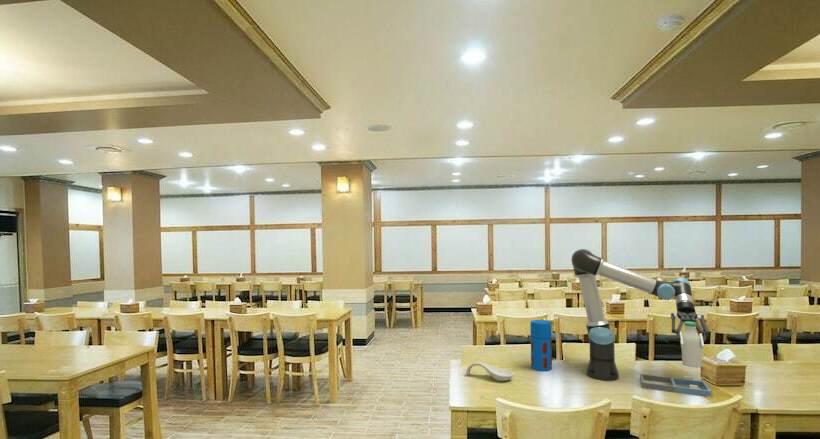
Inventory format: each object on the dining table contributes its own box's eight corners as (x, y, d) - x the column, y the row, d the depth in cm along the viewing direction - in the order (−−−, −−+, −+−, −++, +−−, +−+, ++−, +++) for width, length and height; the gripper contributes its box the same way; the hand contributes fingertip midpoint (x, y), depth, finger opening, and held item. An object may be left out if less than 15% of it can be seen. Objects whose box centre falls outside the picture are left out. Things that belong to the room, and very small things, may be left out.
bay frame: (642, 388, 197) (641, 379, 197) (639, 378, 210) (639, 370, 210) (711, 397, 186) (711, 387, 186) (704, 386, 198) (704, 378, 199)
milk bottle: (705, 368, 191) (703, 324, 191) (686, 367, 192) (684, 323, 193) (697, 363, 198) (695, 320, 199) (679, 362, 200) (677, 320, 201)
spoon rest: (515, 377, 213) (514, 363, 214) (511, 385, 202) (511, 370, 203) (469, 371, 222) (469, 358, 222) (463, 379, 211) (463, 364, 212)
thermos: (554, 367, 228) (553, 321, 229) (549, 372, 219) (548, 324, 220) (534, 364, 234) (533, 319, 235) (528, 369, 225) (527, 322, 226)
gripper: (708, 311, 206) (717, 353, 190) (661, 308, 214) (666, 348, 199) (710, 302, 201) (720, 344, 186) (662, 299, 210) (667, 339, 194)
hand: (692, 346), depth 192 cm, fingers closed on milk bottle, 7 cm apart
